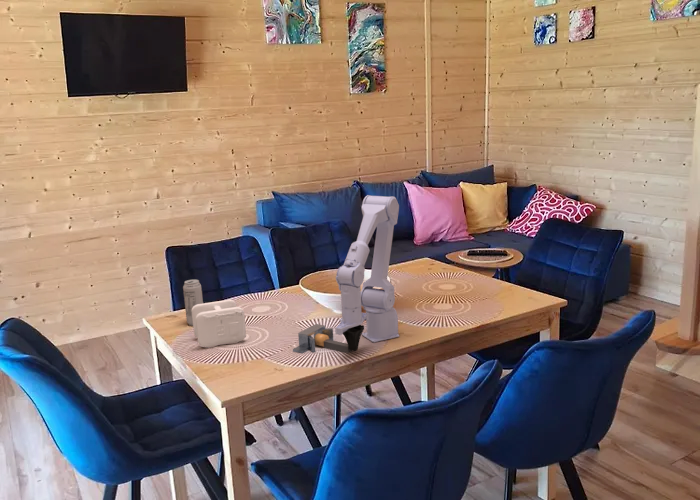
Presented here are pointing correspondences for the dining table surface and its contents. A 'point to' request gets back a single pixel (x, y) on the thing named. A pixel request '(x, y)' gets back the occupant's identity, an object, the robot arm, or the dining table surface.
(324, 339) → the grey and orange tool
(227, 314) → the cable organizer
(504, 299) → the dining table surface
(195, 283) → the energy drink can
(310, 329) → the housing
